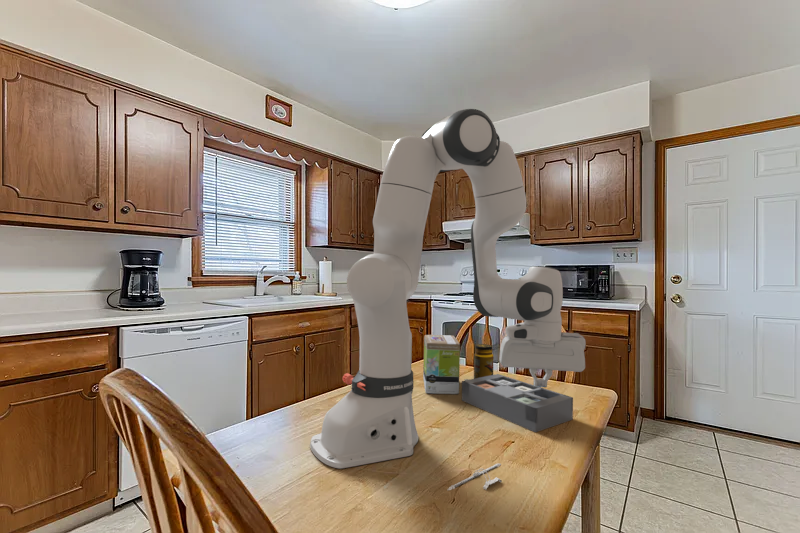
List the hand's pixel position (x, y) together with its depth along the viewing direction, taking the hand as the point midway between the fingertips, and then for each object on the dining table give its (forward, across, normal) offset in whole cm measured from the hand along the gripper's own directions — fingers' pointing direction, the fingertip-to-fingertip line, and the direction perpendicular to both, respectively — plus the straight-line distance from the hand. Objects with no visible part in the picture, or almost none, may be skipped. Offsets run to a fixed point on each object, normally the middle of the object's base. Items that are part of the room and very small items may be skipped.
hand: (540, 386), depth 98 cm
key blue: (+5, -1, +1) cm, 5 cm away
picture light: (+8, +17, +33) cm, 38 cm away
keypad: (+7, +6, -2) cm, 9 cm away
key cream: (+4, +3, -4) cm, 7 cm away
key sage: (+4, +4, +5) cm, 8 cm away
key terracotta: (+4, +13, -5) cm, 14 cm away
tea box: (+8, +25, -19) cm, 32 cm away
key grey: (+4, +7, -9) cm, 13 cm away
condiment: (+8, +12, -24) cm, 28 cm away
